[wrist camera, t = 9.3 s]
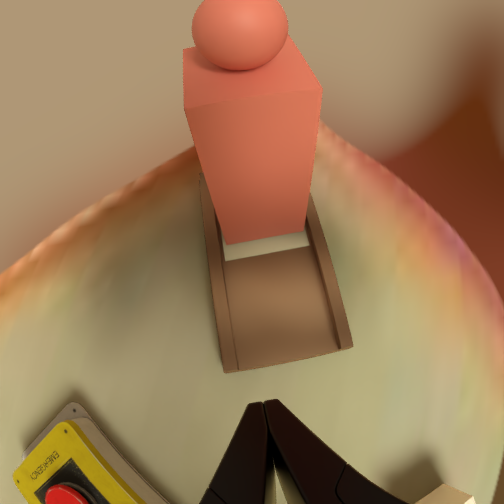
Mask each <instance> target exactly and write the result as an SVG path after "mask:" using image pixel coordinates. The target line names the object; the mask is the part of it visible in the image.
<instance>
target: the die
mask: <svg viewBox="0 0 504 504" xmlns="http://www.w3.org/2000/svg"><path fill="white" fill-rule="evenodd" d="M415 504H475V501H474V498H473V496H471V495H469V494H466V493H464V492H462V491H459V490H457V489H455V488H452V487H450V486H448V485H446V484H444V483H443V484H442V485H441V486H439V487H438V488H436V489H435V490H434V491H432V492H431V493H429V494H428V495H427V496H425V497H424V498H422V499H421V500H419V501H418V502H416V503H415Z"/></svg>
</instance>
